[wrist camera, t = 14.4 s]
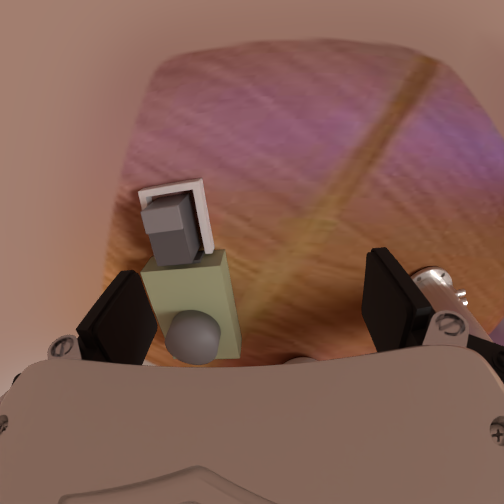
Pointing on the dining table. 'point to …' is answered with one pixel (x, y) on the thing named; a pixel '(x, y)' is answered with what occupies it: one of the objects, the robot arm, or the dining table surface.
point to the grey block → (172, 229)
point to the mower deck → (194, 292)
